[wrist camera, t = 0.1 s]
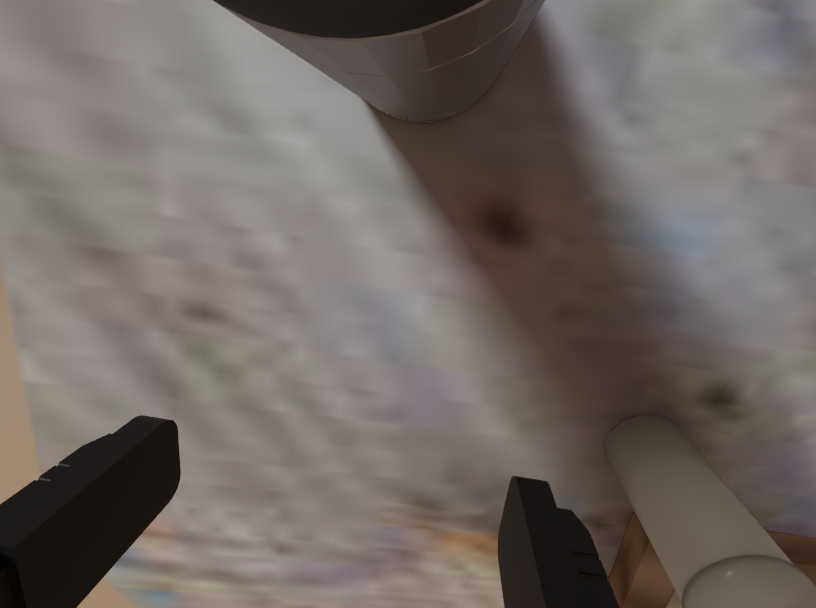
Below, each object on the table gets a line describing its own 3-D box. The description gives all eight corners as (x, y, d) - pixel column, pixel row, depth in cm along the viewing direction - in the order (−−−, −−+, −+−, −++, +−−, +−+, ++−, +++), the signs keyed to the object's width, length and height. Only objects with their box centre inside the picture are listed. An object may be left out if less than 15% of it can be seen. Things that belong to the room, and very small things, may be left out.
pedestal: (633, 512, 30) (649, 543, 28) (828, 539, 30) (862, 574, 27) (593, 616, 35) (604, 651, 32) (763, 643, 34) (788, 681, 31)
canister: (614, 408, 28) (712, 559, 17) (695, 419, 27) (845, 578, 17) (594, 470, 29) (672, 639, 19) (670, 481, 29) (791, 658, 19)
